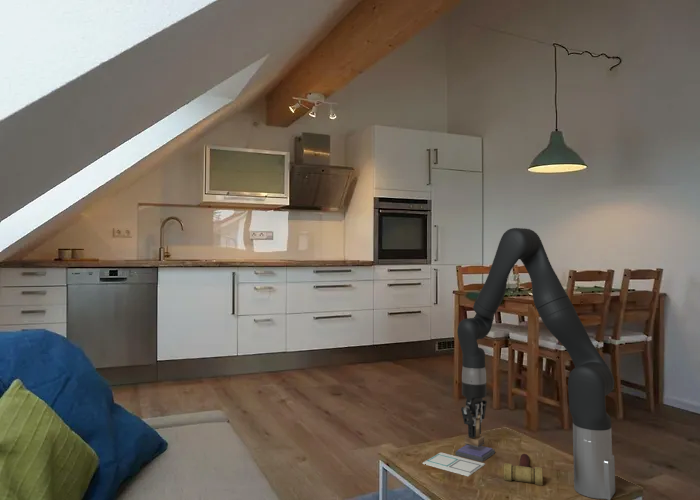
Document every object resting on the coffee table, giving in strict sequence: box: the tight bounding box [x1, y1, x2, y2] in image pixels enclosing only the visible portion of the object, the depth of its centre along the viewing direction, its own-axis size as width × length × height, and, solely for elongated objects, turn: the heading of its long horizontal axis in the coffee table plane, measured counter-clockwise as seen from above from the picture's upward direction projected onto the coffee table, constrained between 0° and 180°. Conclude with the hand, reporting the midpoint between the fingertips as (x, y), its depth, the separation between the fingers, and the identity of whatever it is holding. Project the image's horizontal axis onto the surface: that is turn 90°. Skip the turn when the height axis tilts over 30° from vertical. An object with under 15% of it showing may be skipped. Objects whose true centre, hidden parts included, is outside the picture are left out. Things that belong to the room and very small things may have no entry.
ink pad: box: [455, 444, 496, 463], centre depth 159 cm, size 9×9×2 cm
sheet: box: [422, 451, 486, 477], centre depth 151 cm, size 15×11×1 cm
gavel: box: [503, 453, 544, 486], centre depth 147 cm, size 21×5×10 cm
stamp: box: [464, 414, 485, 447], centre depth 160 cm, size 4×4×9 cm
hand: (474, 435), depth 160 cm, fingers closed on stamp, 3 cm apart
